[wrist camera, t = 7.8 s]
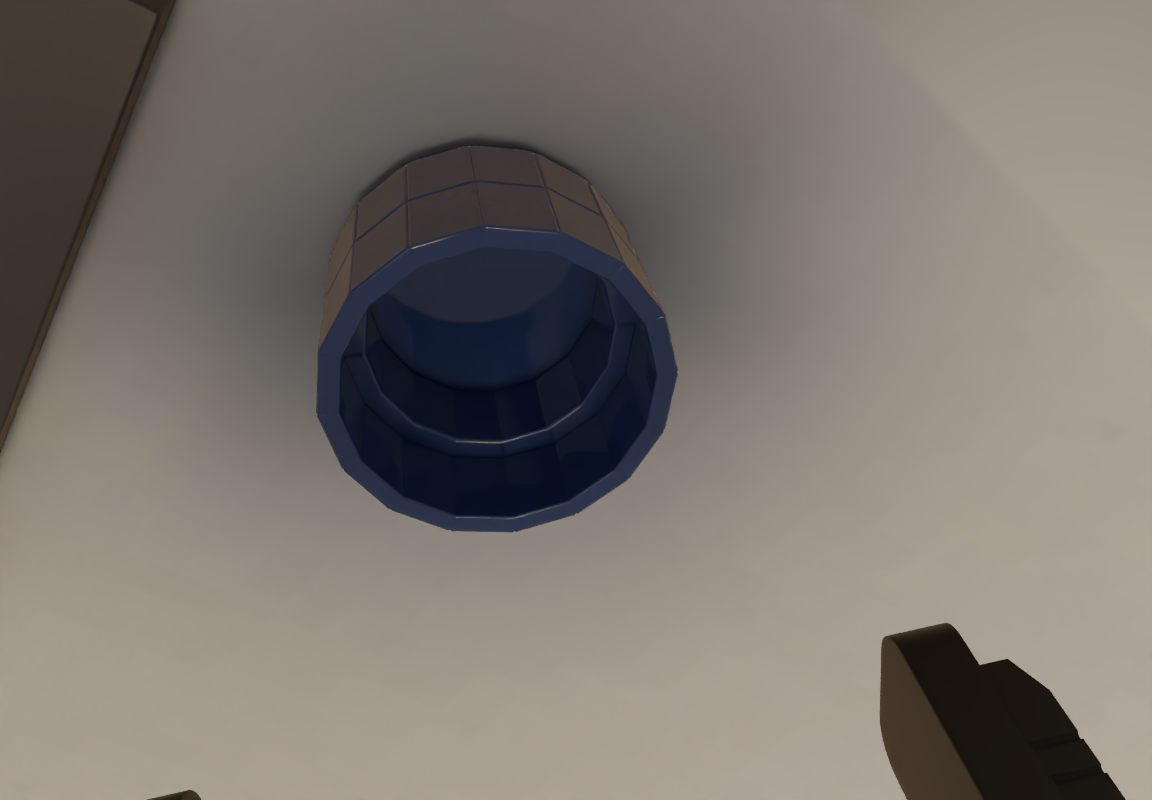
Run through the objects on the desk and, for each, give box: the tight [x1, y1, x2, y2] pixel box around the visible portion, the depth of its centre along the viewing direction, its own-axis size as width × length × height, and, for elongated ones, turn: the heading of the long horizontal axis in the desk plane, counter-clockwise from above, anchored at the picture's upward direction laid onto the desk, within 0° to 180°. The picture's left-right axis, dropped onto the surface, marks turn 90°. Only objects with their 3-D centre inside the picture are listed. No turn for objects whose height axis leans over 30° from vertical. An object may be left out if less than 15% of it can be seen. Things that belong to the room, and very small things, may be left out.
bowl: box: [316, 145, 678, 532], centre depth 20 cm, size 6×6×4 cm
